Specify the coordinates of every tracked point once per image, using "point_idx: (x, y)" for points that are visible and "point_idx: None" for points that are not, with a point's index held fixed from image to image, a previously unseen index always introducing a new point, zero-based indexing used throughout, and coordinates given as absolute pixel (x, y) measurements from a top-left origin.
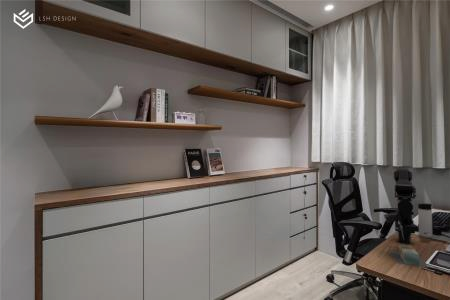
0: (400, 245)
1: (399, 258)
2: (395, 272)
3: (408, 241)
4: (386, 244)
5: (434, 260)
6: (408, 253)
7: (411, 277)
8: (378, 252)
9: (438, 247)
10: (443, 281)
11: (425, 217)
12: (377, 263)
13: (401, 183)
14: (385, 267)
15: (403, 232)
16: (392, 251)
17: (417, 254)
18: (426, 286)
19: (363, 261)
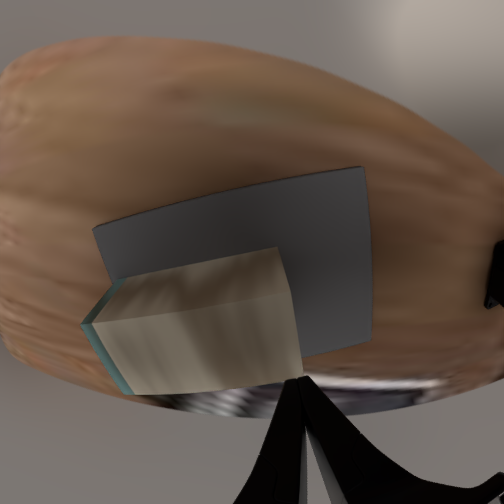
0: (273, 301)
1: (192, 245)
2: (11, 227)
3: (497, 298)
4: (471, 165)
5: None
6: (91, 343)
7: (18, 289)
8: (271, 85)
9: (464, 380)
10: (79, 382)
11: None
12: (48, 122)
13: None
14: (26, 174)
15: (242, 490)
16: (334, 194)
17: (120, 388)
18: (5, 324)
19: (43, 54)
